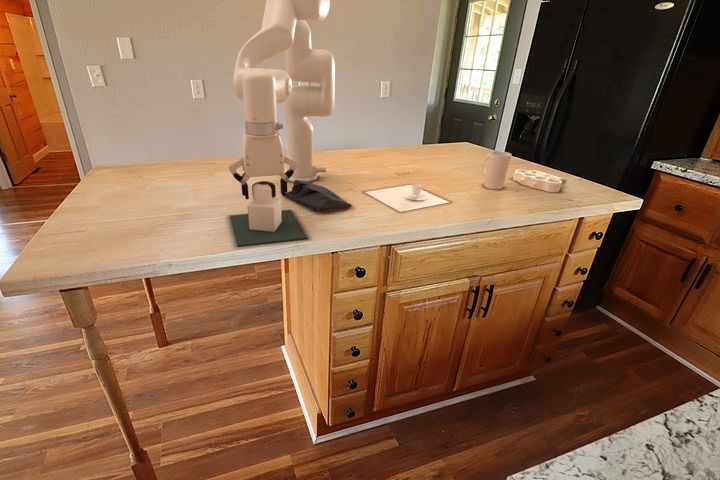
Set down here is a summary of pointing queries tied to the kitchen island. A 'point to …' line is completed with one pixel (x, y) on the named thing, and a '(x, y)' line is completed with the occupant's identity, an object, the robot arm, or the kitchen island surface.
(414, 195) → the teacup and saucer
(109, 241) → the kitchen island surface
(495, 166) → the mug
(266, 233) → the mat
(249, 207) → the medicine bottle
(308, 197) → the black fabric pouch
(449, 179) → the kitchen island surface
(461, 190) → the kitchen island surface
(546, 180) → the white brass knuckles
